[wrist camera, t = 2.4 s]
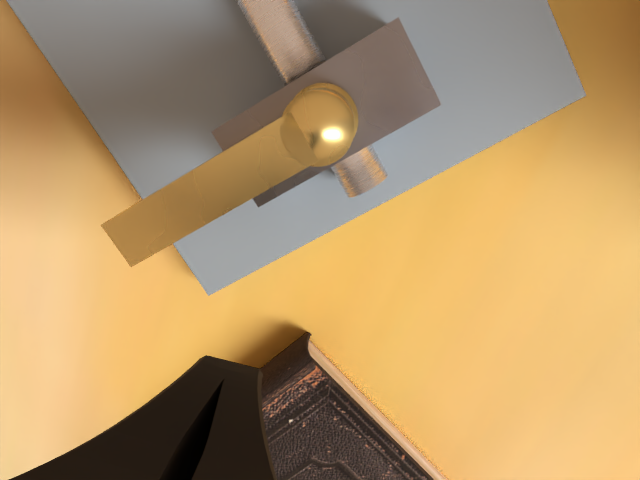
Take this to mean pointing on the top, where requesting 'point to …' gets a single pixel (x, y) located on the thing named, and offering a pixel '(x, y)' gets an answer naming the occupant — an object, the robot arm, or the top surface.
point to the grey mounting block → (362, 85)
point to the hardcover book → (330, 424)
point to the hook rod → (298, 59)
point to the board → (262, 81)
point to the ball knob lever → (240, 172)
